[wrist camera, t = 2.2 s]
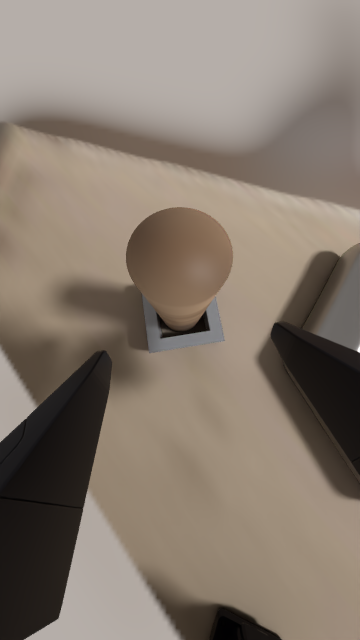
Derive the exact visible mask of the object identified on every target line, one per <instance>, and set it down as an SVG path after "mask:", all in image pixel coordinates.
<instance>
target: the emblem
mask: <svg viewBox="0 0 360 640" xmlns="http://www.w3.org/2000/svg"><path fill="white" fill-rule="evenodd" d="M302 329H303V330H306V331H308V332H311V333H313V334H316V335H318V336H321V337H323V338H326V339H328V340H331V341H333V342H336V343H338V344H341V345H343V346H345V347H348V348H350V349H353V350H355V351H358V352H360V243H358V244H356V245H354V246H353V247H351V248H350V249H348V250H347V251H346V252H345V253H344V254H343V255H342V256H341V257H340V259H339V260H338V262H337V264H336V266H335V268H334V270H333V272H332V274H331V276H330V277H329V279H328V281H327V283H326V285H325V287H324V289H323V291H322V293H321V295H320V297H319V299H318V300H317V302H316V304H315V306H314V308H313V310H312V312H311V313H310V315H309V317H308V319H307V321H306V322H305V324H304V326H303V328H302ZM284 366H285V368H286V370H287V372H288V373H289V375H290V377H291V378H292V380H293V381H294V383H295V385H296V386H297V388H298V389H299V391H300V392H301V394H302V395H303V397H304V399H305V400H306V402H307V403H308V405H309V406H310V408H311V409H312V411H313V413H314V414H315V416H316V417H317V419H318V420H319V422H320V423H321V425H322V427H323V428H324V430H325V431H326V433H327V434H328V436H329V437H330V439H331V441H332V442H333V444H334V445H335V447H336V448H337V450H338V451H339V453H340V454H341V456H342V457H343V459H344V460H345V462H346V463H347V465H348V467H349V468H350V470H351V471H352V473H353V474H354V476H355V477H356V479H357V480H358V482H359V483H360V475H359V474H358V472H357V471H356V469H355V468H354V466H353V465H352V463H351V461H350V460H349V459H348V457H347V456H346V454H345V453H344V451H343V450H342V448H341V447H340V445H339V444H338V442H337V441H336V439H335V438H334V436H333V435H332V433H331V432H330V430H329V429H328V427H327V426H326V424H325V423H324V421H323V420H322V418H321V417H320V415H319V414H318V412H317V411H316V409H315V408H314V407H313V405H312V404H311V402H310V401H309V399H308V398H307V396H306V395H305V393H304V392H303V390H302V389H301V387H300V386H299V384H298V383H297V381H296V380H295V378H294V377H293V375H292V374H291V372H290V371H289V369H288V368H287V366H286V365H285V363H284Z"/></svg>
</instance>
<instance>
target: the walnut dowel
mask: <svg viewBox="0 0 360 640" xmlns="http://www.w3.org/2000/svg"><path fill="white" fill-rule="evenodd" d="M232 262H233V251H232V245H231V242H230V239H229V237H228V235H227V233H226V231H225V230H224V228H223V227H222V226H221V225H220V224H219V223H218V222H217V221H216V220H215V219H214V218H212V217H211V216H209V215H207V214H206V213H204V212H201V211H199V210H195V209H191V208H182V207H177V208H169V209H165V210H161V211H159V212H156V213H154V214H152V215H151V216H149V217H147V218H146V219H145V220H144V221H142V222H141V223H140V224H139V225H138V227H137V228H136V229H135V230H134V232H133V234H132V235H131V237H130V240H129V242H128V246H127V251H126V263H127V268H128V272H129V274H130V277H131V279H132V280H133V282H134V283H135V285H136V286H137V288H138V289H139V290H140V291H141V293H142V294H143V295H144V297H145V298H146V299H147V300H148V302H149V303H150V304H151V305H152V307H153V308H154V309H155V311H156V312H157V313H158V314H159V316H160V317H161V318H162V319H163V321H164V322H165V323H166V325H167V326H168V327H169V328H170V329H172V330H174V331H176V332H186V331H189V330H191V329H192V328H193V327H194V326H195V325H196V323H197V322H198V321H199V319H200V318H201V316H202V315H203V313H204V312H205V310H206V309H207V308H208V306H209V305H210V303H211V302H212V300H213V299H214V297H215V296H216V294H217V293H218V292H219V290H220V289H221V287H222V286H223V284H224V283H225V281H226V280H227V278H228V276H229V273H230V271H231V267H232Z"/></svg>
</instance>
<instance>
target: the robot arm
mask: <svg viewBox="0 0 360 640" xmlns="http://www.w3.org/2000/svg"><path fill="white" fill-rule="evenodd" d="M271 339H272V341H273V342H274V344H275V346H276V348H277V350H278V352H279V354H280V356H281V358H282V359H283V361H284V363H285V365H286V366H287V368H288V369H289V371H290V372H291V374H292V375H293V377H294V378H295V380H296V381H297V383H298V384H299V386H300V387H301V389H302V390H303V392H304V393H305V395H306V396H307V398H308V399H309V401H310V402H311V404H312V405H313V407H314V408H315V409H316V411H317V412H318V414H319V415H320V417H321V418H322V420H323V421H324V423H325V424H326V426H327V427H328V429H329V430H330V432H331V433H332V435H333V436H334V438H335V439H336V441H337V442H338V444H339V445H340V447H341V448H342V450H343V451H344V453H345V454H346V456H347V457H348V459H349V460H350V461H351V463H352V465H353V466H354V468H355V469H356V471H357V472H358V474H359V475H360V352H358V351H355V350H353V349H350V348H348V347H345V346H343V345H341V344H338V343H336V342H333V341H331V340H328V339H326V338H323V337H321V336H318V335H316V334H313V333H311V332H308V331H306V330H303V329H301V328H298V327H296V326H294V325H291V324H289V323H286V322H283V321H282V322H276V323H274V325H273V328H272V331H271ZM111 370H112V361H111V359H110V357H109V355H108V354H107V352H106V351H105V350H103V351H97V352H96V353H94V354H93V355H92V356H91V357H90V358H89V359H88V360H87V361H86V362H85V363H84V364H83V365H82V366H81V367H80V368H79V369H78V370H77V371H75V372H74V373H73V374H72V375H71V376H70V377H69V378H68V379H67V380H66V381H65V382H64V383H63V384H62V385H61V386H60V387H59V388H58V389H56V390H55V391H54V392H53V393H52V394H51V395H50V396H49V397H48V398H47V399H46V400H45V401H44V402H43V403H42V404H41V405H40V406H39V407H37V408H36V409H35V410H34V411H33V412H32V413H31V414H30V415H29V416H28V417H27V419H25V420H24V421H23V422H22V423H21V424H20V425H18V426H17V427H16V428H15V429H14V430H13V431H12V432H11V433H10V434H9V435H8V436H7V437H6V438H4V439H3V440H2V441H1V442H0V640H24V639H26V638H27V637H29V636H31V635H32V634H34V633H36V632H37V631H39V630H41V629H42V628H44V627H45V626H47V625H49V624H50V623H52V622H54V621H55V620H57V619H58V618H59V614H60V610H61V606H62V603H63V598H64V593H65V589H66V585H67V580H68V576H69V571H70V567H71V562H72V558H73V553H74V549H75V544H76V540H77V535H78V531H79V526H80V522H81V516H82V512H83V507H84V503H85V498H86V494H87V489H88V485H89V480H90V476H91V471H92V467H93V462H94V458H95V453H96V449H97V444H98V440H99V435H100V431H101V426H102V422H103V417H104V413H105V408H106V404H107V399H108V394H109V388H110V379H111ZM210 640H282V639H280V638H278V637H276V636H274V635H272V634H270V633H269V632H267V631H265V630H263V629H261V628H259V627H257V626H255V625H253V624H251V623H250V622H248V621H246V620H244V619H242V618H240V617H238V616H236V615H234V614H232V613H230V612H229V611H227V610H225V609H219V610H218V612H217V615H216V619H215V622H214V626H213V629H212V633H211V636H210Z"/></svg>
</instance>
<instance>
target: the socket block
mask: <svg viewBox="0 0 360 640" xmlns="http://www.w3.org/2000/svg"><path fill="white" fill-rule="evenodd" d="M142 300H143V308H144V316H145V324H146V332H147V340H148V348H149V353H154V352H160V351H166V350H172V349H178V348H184V347H190V346H197V345H203V344H209V343H215V342H221V341H225V339H224V335H223V330H222V325H221V320H220V315H219V310H218V305H217V300H216V296H215V297H214V299H213V300H212V302H211V303H210V305H209V306H208V308H207V309H206V310H205V312H204V313H203V316H204V322H205V327H206V331H205V332H199V333H193V334H186V335H180V336H174V337H168V338H162V331H161V324H160V317H159V314H158V313H157V312H156V311H155V309H154V308H153V307H152V305H151V304H150V303H149V302H148V300H147V299H146V298H145V297H144V295H143V294H142Z"/></svg>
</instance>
